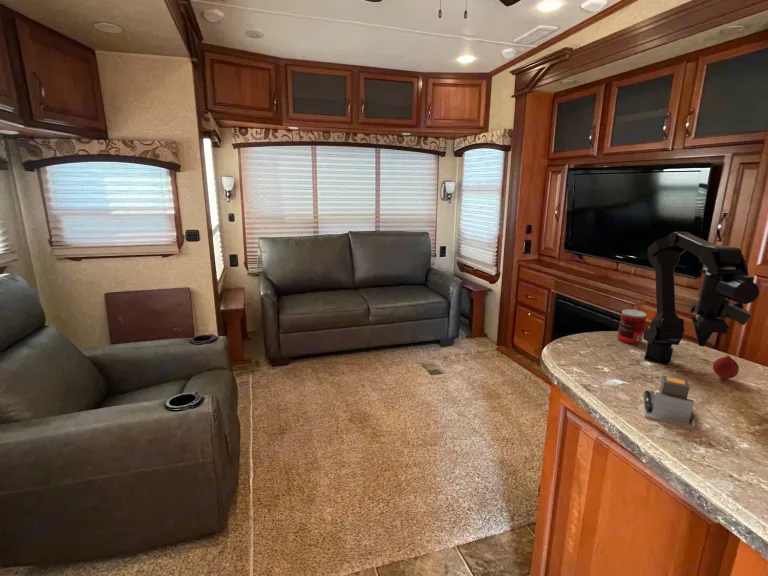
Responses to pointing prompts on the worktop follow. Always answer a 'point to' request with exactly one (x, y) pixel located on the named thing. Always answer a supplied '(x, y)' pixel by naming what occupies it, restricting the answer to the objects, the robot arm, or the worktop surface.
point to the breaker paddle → (674, 387)
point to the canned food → (631, 326)
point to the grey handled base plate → (669, 409)
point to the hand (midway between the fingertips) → (700, 345)
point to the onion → (726, 367)
